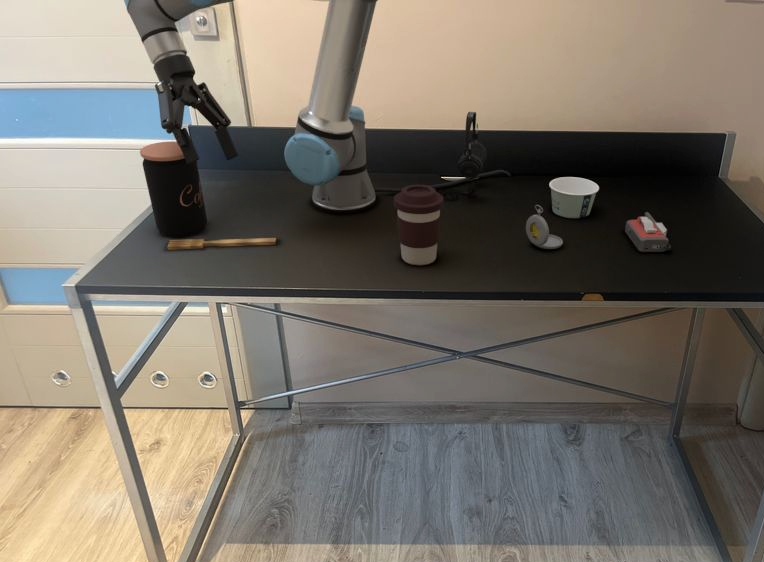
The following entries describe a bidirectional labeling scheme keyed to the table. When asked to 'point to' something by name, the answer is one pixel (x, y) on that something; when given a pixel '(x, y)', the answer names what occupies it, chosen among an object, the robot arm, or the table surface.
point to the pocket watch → (541, 232)
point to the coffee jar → (174, 190)
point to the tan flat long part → (218, 243)
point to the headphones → (471, 153)
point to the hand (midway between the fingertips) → (214, 159)
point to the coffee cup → (418, 223)
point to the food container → (572, 196)
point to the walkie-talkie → (647, 234)
